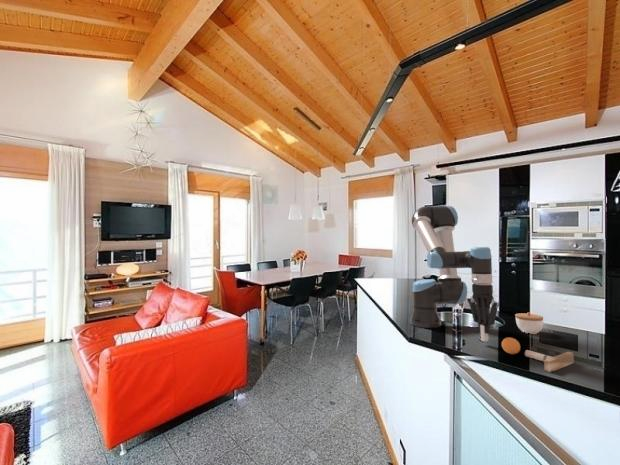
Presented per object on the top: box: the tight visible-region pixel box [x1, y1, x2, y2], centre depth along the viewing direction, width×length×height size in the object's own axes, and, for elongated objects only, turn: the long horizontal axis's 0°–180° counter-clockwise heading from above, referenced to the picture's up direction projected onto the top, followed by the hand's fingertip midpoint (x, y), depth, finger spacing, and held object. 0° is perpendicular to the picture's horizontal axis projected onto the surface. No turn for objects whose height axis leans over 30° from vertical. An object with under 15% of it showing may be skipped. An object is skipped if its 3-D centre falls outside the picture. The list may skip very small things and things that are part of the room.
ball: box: [501, 337, 521, 355], centre depth 115 cm, size 6×6×6 cm
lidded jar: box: [514, 311, 544, 335], centre depth 142 cm, size 11×11×9 cm
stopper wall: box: [543, 351, 575, 373], centre depth 102 cm, size 2×16×4 cm, turn 117°
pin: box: [524, 349, 553, 363], centre depth 108 cm, size 2×2×8 cm
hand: (484, 340), depth 125 cm, fingers closed
